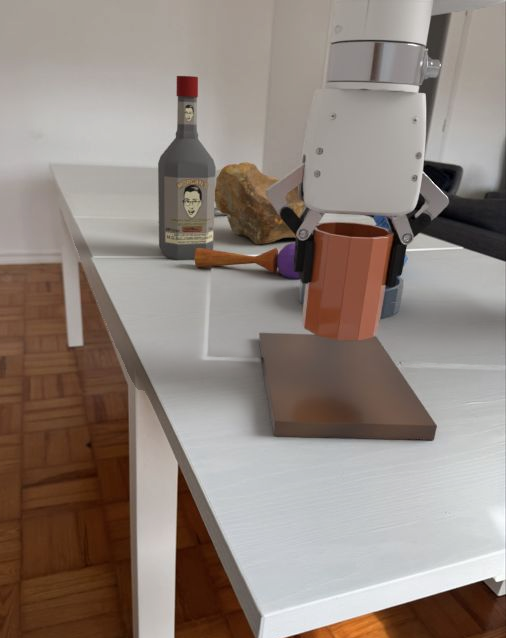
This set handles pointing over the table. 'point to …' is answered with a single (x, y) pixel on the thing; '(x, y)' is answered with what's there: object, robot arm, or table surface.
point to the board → (339, 390)
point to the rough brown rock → (252, 203)
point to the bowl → (389, 301)
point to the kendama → (251, 260)
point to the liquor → (186, 183)
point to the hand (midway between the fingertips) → (345, 279)
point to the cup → (347, 280)
